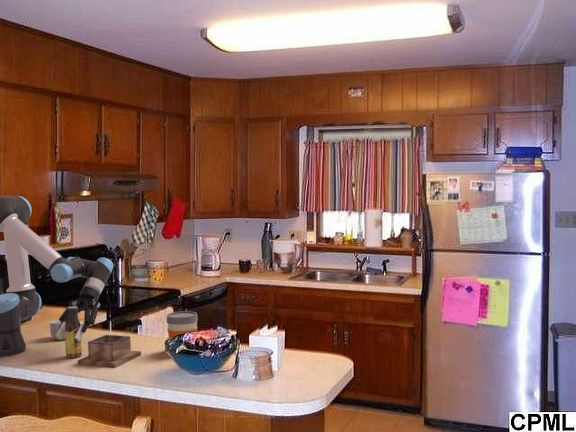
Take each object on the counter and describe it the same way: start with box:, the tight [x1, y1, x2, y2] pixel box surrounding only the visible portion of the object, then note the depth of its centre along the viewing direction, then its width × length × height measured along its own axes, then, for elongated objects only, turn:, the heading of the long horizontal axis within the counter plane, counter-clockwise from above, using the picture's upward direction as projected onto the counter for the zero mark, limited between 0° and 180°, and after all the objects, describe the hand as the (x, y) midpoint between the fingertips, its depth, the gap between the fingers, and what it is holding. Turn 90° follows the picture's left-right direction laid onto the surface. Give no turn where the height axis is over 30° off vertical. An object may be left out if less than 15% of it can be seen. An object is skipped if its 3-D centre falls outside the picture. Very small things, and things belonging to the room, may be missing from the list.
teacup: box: [49, 319, 82, 341], centre depth 278 cm, size 14×11×8 cm
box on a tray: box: [77, 334, 142, 368], centre depth 242 cm, size 17×17×8 cm
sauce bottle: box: [64, 306, 83, 359], centre depth 248 cm, size 7×6×20 cm
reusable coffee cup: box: [166, 310, 199, 339], centre depth 252 cm, size 13×13×15 cm
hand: (67, 338), depth 245 cm, fingers open, 8 cm apart
